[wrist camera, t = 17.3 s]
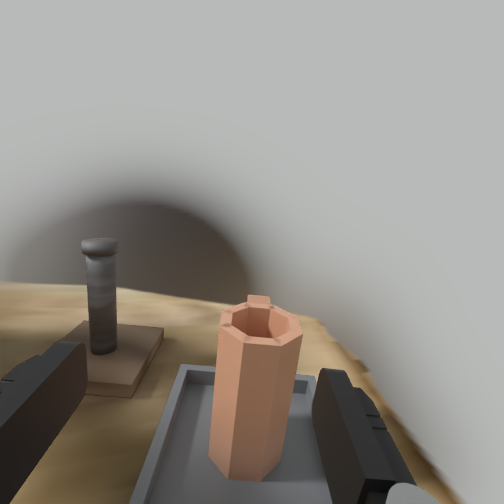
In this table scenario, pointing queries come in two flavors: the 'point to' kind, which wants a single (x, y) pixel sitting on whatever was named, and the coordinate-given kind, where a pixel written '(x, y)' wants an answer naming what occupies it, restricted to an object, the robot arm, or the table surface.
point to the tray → (204, 469)
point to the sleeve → (253, 387)
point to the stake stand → (111, 329)
